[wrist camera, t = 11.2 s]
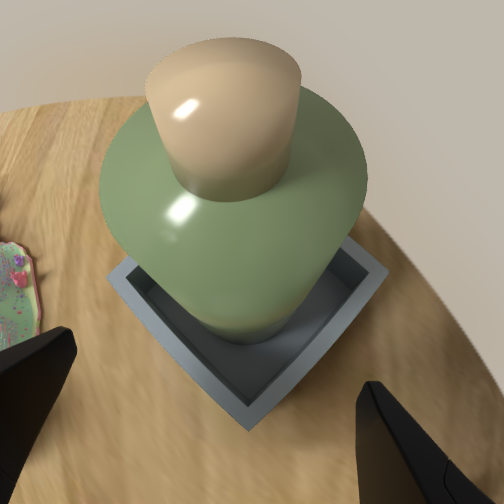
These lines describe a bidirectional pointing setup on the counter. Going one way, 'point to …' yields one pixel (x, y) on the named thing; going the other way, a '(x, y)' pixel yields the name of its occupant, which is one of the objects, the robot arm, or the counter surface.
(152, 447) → the counter surface
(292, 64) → the bottle
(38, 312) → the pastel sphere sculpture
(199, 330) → the tub
